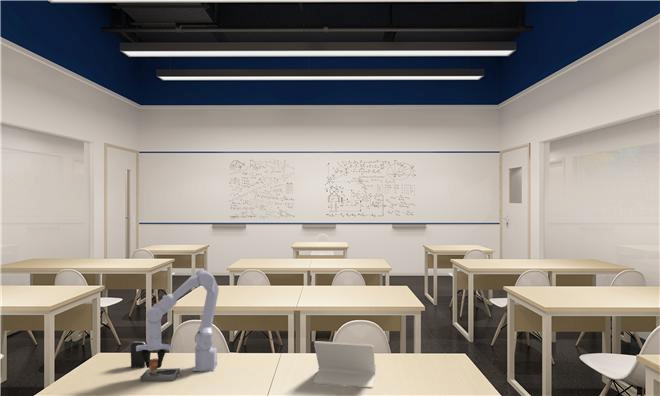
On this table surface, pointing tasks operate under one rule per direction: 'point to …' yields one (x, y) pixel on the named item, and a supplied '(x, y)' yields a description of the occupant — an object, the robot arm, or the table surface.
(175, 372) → the keyhole plate
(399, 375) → the table surface
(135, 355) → the battery charger
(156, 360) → the peg
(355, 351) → the tablet stand
